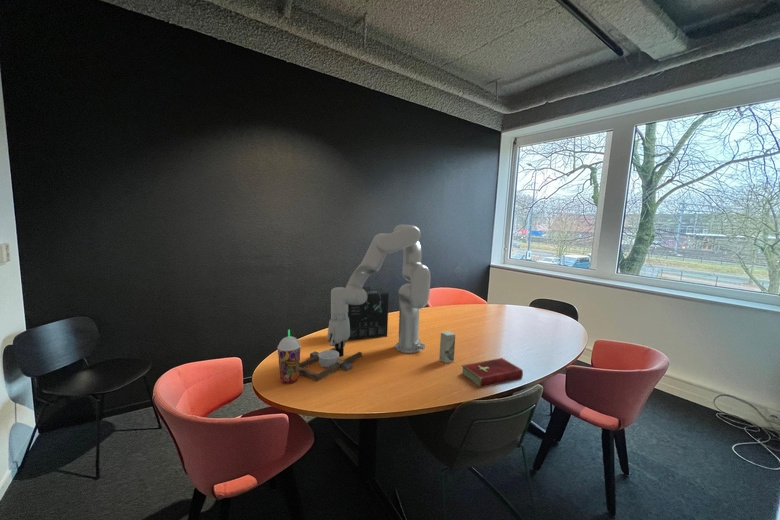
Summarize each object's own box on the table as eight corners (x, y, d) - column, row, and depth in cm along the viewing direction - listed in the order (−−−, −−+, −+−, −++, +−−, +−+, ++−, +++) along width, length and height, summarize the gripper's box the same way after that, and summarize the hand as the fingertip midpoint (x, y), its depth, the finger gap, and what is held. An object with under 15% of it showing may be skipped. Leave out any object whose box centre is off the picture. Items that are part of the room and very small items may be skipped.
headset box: (381, 329, 182) (382, 284, 179) (388, 336, 171) (389, 289, 168) (341, 333, 175) (342, 286, 171) (346, 341, 163) (347, 291, 160)
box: (444, 364, 140) (446, 335, 138) (438, 360, 144) (440, 332, 142) (454, 361, 142) (455, 333, 141) (448, 357, 146) (449, 330, 145)
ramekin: (340, 367, 135) (340, 357, 134) (319, 369, 132) (319, 359, 131) (337, 358, 143) (337, 349, 142) (317, 360, 140) (317, 350, 140)
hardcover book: (522, 379, 129) (523, 369, 128) (479, 388, 121) (480, 378, 120) (501, 366, 140) (502, 357, 139) (461, 374, 132) (461, 364, 131)
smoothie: (288, 388, 117) (287, 335, 114) (273, 381, 121) (272, 330, 119) (305, 378, 124) (305, 328, 121) (290, 373, 128) (290, 324, 126)
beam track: (368, 358, 143) (368, 353, 143) (324, 384, 120) (324, 378, 120) (332, 347, 155) (332, 342, 155) (286, 368, 132) (286, 363, 132)
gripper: (344, 310, 149) (344, 348, 151) (321, 318, 136) (321, 359, 139) (357, 313, 145) (356, 352, 147) (334, 321, 132) (334, 364, 135)
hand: (339, 355), depth 143 cm, fingers closed
